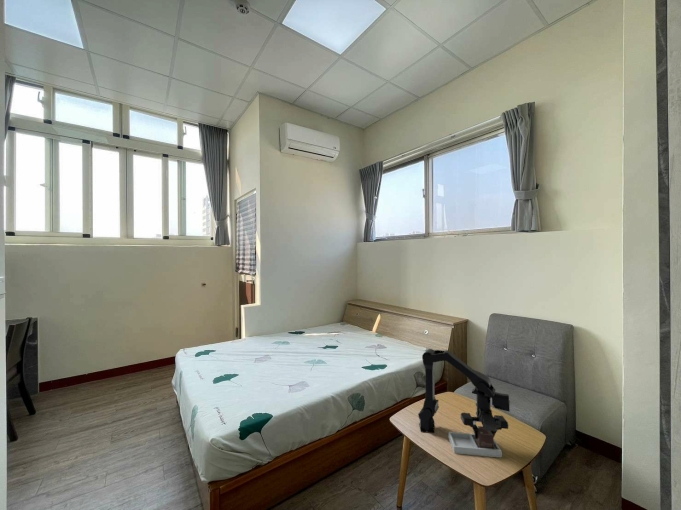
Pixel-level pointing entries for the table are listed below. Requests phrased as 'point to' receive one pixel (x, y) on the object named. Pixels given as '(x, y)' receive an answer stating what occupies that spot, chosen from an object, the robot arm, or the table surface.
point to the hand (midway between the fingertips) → (484, 439)
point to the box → (484, 438)
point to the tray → (471, 445)
